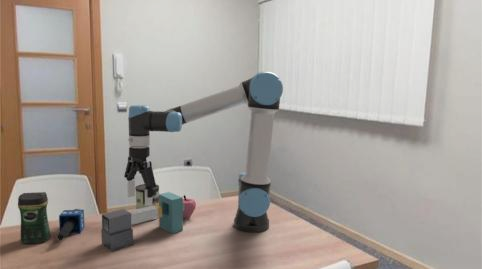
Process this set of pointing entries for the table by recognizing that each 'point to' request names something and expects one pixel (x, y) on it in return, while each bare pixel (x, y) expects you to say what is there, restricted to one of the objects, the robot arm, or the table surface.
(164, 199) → the socket block
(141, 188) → the coffee can
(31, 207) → the coffee jar
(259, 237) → the table surface
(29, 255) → the table surface
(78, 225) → the microphone
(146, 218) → the slip tube
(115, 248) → the stand
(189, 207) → the apple
